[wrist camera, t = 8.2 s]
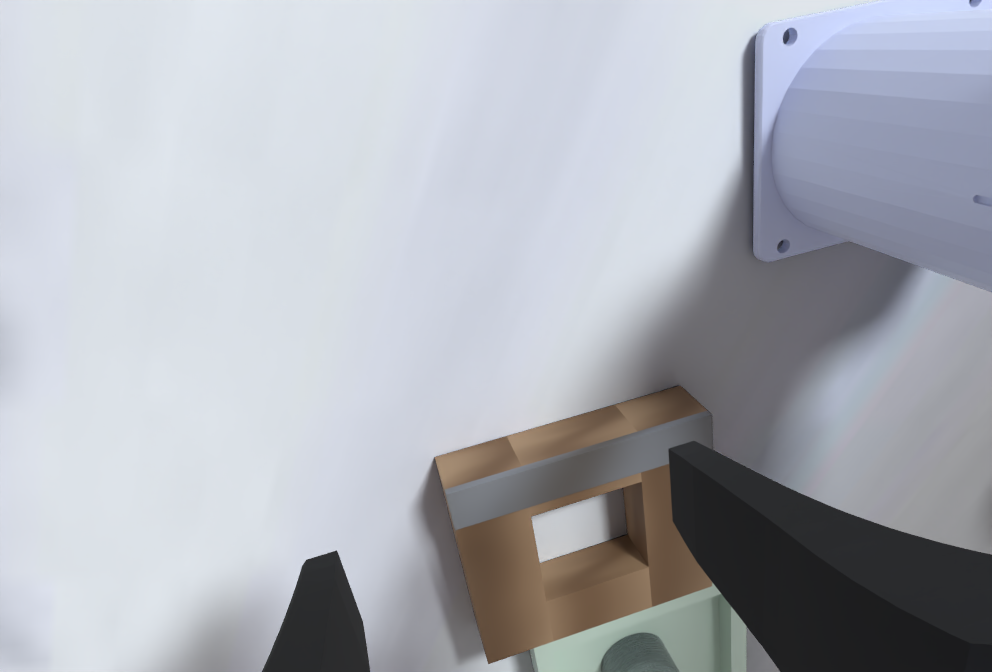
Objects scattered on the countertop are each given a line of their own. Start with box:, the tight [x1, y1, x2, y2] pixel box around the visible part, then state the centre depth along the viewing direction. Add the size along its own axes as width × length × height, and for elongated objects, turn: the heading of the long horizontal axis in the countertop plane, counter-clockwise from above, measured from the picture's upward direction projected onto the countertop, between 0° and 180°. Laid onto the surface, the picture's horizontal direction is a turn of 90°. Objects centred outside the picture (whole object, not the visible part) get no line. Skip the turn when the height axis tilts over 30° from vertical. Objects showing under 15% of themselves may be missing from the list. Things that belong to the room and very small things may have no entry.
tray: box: [530, 583, 747, 672], centre depth 31 cm, size 10×10×2 cm
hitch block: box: [435, 386, 713, 664], centre depth 26 cm, size 10×9×2 cm
